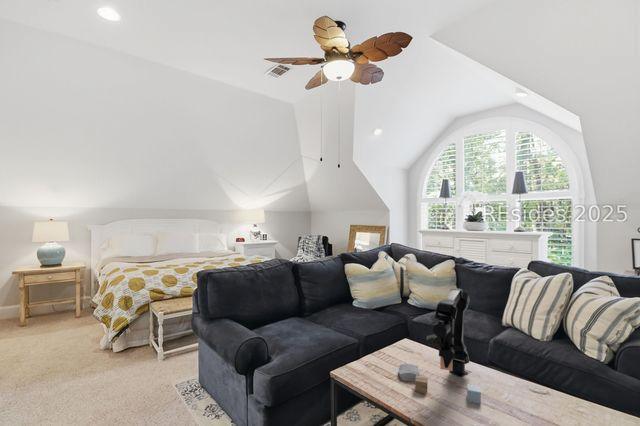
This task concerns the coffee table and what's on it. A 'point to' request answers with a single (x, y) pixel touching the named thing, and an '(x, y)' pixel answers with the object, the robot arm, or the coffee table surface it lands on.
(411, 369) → the stone block
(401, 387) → the coffee table surface
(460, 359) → the robot arm
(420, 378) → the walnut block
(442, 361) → the terracotta block
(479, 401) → the slate blue block
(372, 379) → the coffee table surface
